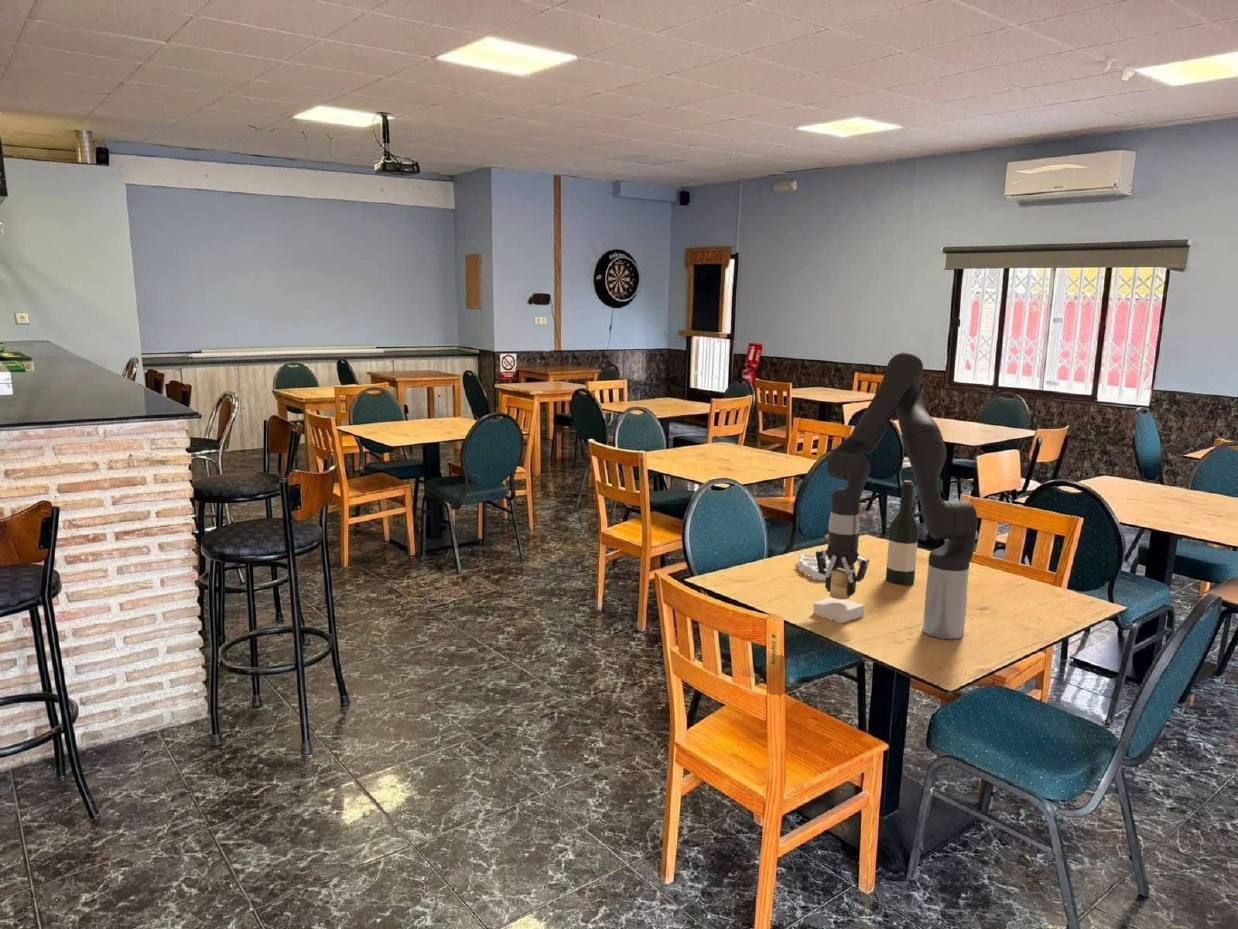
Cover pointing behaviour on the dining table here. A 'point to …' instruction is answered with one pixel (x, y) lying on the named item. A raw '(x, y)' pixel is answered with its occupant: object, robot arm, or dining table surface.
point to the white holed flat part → (811, 566)
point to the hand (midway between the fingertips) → (839, 592)
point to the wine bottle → (903, 541)
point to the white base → (838, 609)
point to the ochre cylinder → (839, 584)
